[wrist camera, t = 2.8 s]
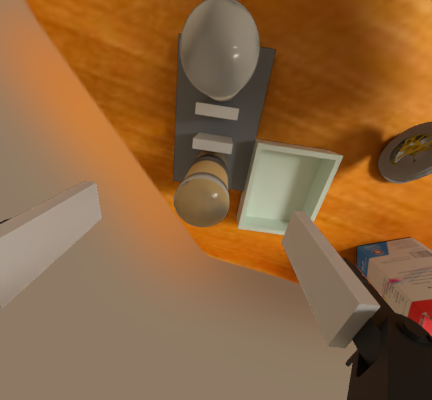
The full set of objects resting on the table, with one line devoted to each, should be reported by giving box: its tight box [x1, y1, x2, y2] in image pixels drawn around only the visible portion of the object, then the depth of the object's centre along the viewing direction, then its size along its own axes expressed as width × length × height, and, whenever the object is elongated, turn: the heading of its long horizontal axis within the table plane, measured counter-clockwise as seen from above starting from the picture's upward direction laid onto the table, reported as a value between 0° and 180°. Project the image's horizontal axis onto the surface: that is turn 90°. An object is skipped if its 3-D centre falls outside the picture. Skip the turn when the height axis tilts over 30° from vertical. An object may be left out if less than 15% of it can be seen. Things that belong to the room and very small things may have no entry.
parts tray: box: [236, 139, 343, 235], centre depth 25 cm, size 12×10×4 cm
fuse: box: [180, 0, 260, 102], centre depth 15 cm, size 4×4×12 cm
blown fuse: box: [174, 150, 229, 227], centre depth 19 cm, size 4×4×12 cm
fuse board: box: [173, 33, 276, 191], centre depth 21 cm, size 16×10×6 cm, turn 172°
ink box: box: [357, 238, 432, 335], centre depth 25 cm, size 8×5×15 cm, turn 105°
